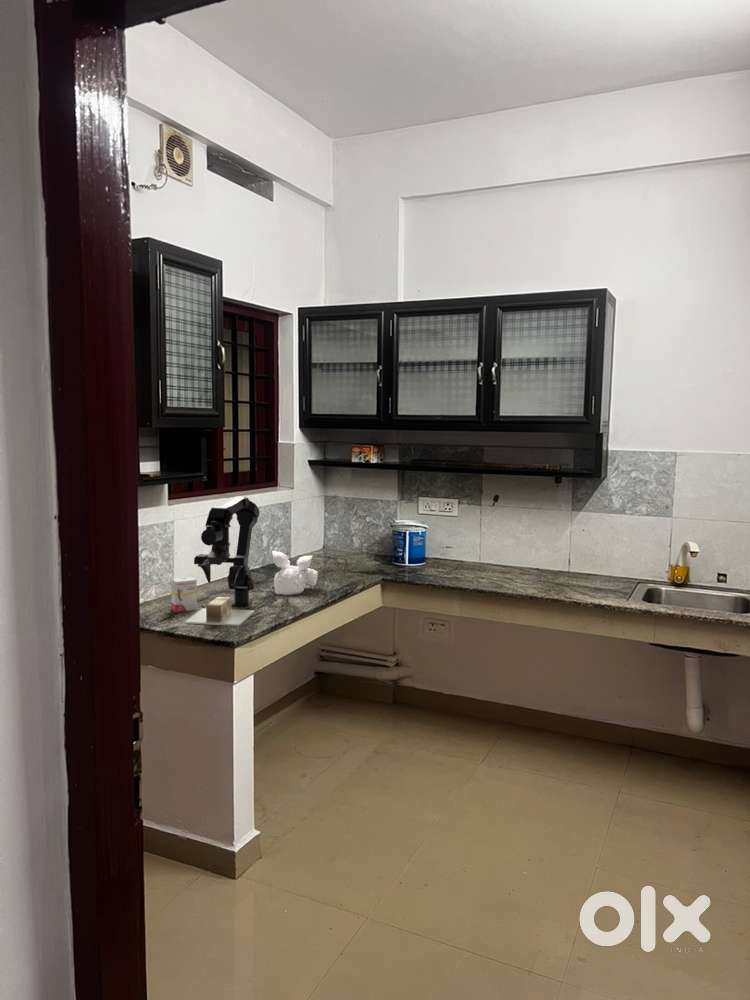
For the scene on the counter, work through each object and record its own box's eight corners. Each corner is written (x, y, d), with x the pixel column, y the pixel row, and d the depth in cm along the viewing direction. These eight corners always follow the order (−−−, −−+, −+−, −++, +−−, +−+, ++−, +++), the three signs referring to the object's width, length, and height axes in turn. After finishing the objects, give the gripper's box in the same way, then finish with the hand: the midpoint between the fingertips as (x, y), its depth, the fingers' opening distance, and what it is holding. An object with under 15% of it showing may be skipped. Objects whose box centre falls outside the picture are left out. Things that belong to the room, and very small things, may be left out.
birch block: (217, 596, 273) (206, 605, 261) (230, 597, 273) (219, 605, 261) (218, 612, 274) (206, 621, 262) (231, 613, 274) (220, 622, 261)
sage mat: (203, 609, 280) (203, 608, 280) (254, 611, 278) (254, 610, 278) (184, 623, 261) (184, 621, 261) (239, 625, 259) (239, 624, 259)
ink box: (174, 612, 276) (174, 581, 274) (171, 609, 280) (170, 578, 279) (197, 609, 280) (197, 579, 279) (193, 606, 284) (193, 576, 283)
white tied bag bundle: (263, 575, 299) (274, 542, 314) (268, 609, 311) (278, 576, 327) (309, 579, 297) (318, 546, 313) (312, 613, 310) (320, 580, 325)
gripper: (188, 543, 261) (188, 587, 263) (239, 545, 259) (239, 589, 261) (199, 538, 272) (199, 580, 274) (248, 540, 270) (248, 582, 272)
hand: (221, 583), depth 270 cm, fingers open, 9 cm apart
